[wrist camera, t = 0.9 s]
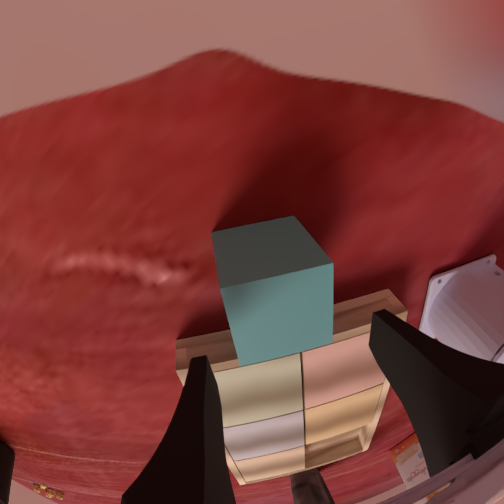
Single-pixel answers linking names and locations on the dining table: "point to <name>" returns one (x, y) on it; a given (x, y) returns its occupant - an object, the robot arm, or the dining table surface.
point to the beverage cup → (310, 488)
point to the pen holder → (5, 471)
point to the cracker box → (418, 467)
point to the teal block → (274, 289)
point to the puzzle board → (298, 395)
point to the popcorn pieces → (48, 491)
